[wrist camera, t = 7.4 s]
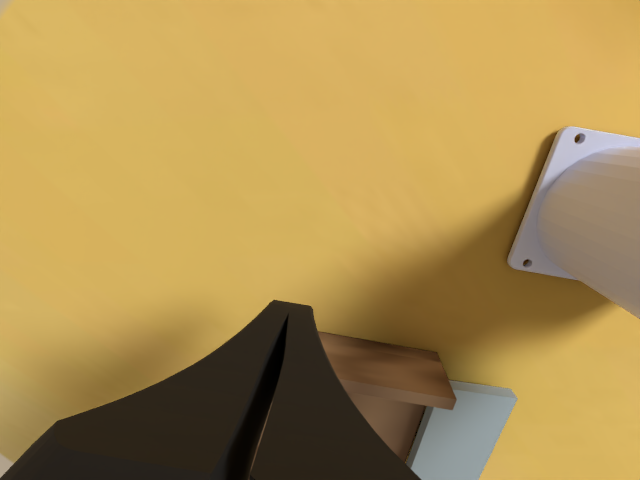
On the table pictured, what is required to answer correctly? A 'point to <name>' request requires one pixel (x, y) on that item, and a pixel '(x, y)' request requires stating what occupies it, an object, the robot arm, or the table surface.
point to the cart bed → (388, 385)
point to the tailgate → (461, 433)
